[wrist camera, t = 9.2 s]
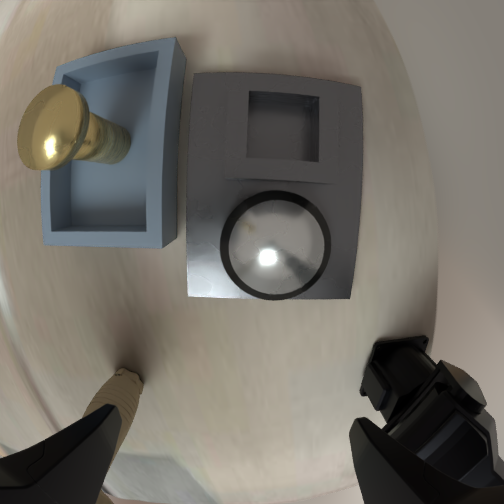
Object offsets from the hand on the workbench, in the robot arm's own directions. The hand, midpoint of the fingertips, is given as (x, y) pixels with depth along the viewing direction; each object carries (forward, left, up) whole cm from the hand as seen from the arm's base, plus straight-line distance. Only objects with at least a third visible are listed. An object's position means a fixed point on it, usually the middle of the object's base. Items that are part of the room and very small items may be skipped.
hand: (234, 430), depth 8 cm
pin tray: (+10, -12, -13) cm, 20 cm away
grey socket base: (-2, -9, -13) cm, 15 cm away
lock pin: (+10, -12, -12) cm, 19 cm away
